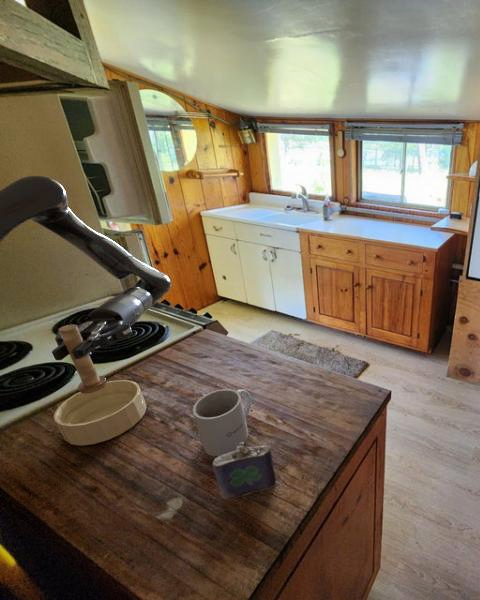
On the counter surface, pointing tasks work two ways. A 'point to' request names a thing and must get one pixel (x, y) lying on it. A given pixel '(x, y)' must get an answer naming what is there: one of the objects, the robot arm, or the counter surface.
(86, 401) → the bowl
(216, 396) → the mug
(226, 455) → the flask
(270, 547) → the counter surface
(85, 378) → the stick
